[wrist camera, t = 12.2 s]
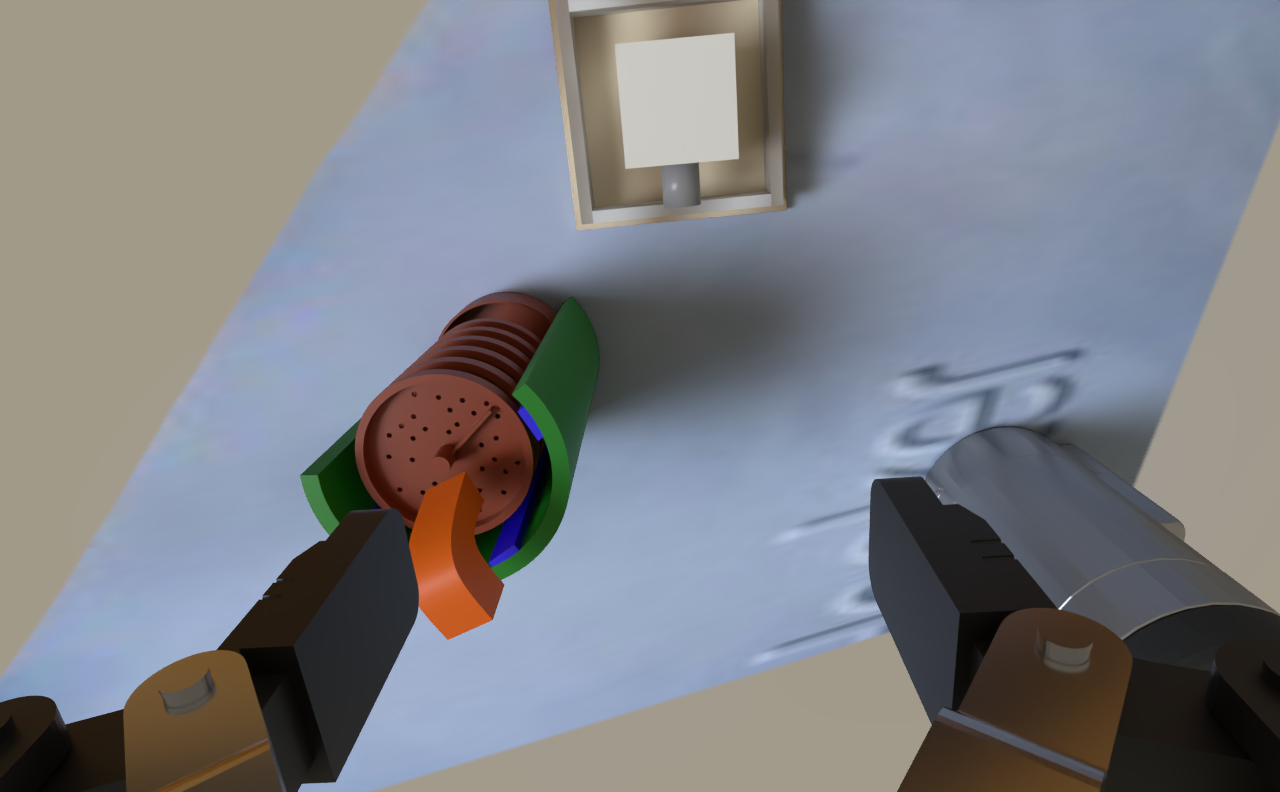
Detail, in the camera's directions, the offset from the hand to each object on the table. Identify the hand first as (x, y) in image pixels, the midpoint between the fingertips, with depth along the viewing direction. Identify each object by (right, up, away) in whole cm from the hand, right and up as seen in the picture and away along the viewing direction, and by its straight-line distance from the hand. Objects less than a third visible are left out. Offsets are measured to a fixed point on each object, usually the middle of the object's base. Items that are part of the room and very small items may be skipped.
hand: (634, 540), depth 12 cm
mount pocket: (+2, +17, +25) cm, 30 cm away
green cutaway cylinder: (-7, +4, +30) cm, 31 cm away
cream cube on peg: (+2, +17, +24) cm, 30 cm away
